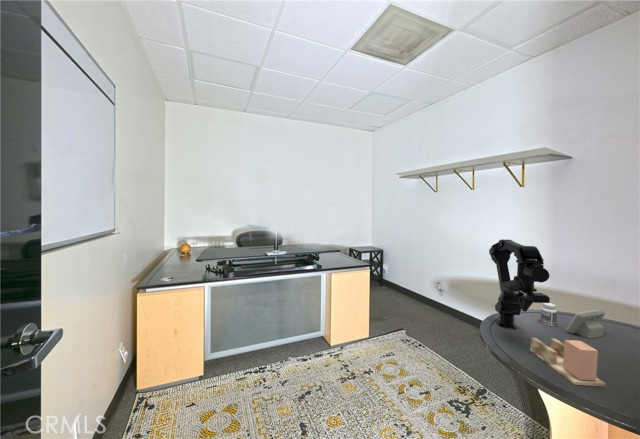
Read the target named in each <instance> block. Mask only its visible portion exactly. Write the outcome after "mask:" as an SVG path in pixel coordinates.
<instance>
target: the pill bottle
mask: <svg viewBox="0 0 640 439" xmlns="http://www.w3.org/2000/svg"><path fill="white" fill-rule="evenodd" d="M556 308H557V307H556V304H554V303H551V302H550V303H542V307H541V308H540V322H541V324H542V325H545V326H550V327H556V326H557V318H558V316H557V314H558V311H557V309H556Z"/></svg>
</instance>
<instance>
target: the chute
mask: <svg viewBox="0 0 640 439" xmlns="http://www.w3.org/2000/svg"><path fill="white" fill-rule="evenodd" d="M529 351H530V352H532V354H534V355H535V356H536V355H537V356H536V357H538V358H539V359H540V358H541V359H540V360H542V361H543V362H544V361H545V362H544V363H546V364H547V365H548V366H550V367H551V368H552V369H554V371H556V372H557V373H559V374H560V376H562V377H563V378H565V379H567V380H568V382H570V383H572V385H575V386H576V385H577V386H589V387H590V386H591V387H592V386H593V387H606V383H605V382H604V381H603V380H601V379H599V377H597V376H596V381H595V380H579V379H578V378H576V377H575V376H574V375H572V374H571V373H570V372H568V371H567V370H566V369H564V368H563V360H564V343H563V342H562V341H560V340H558V339H557V338H554V337H553V338H550V346H548V345H547V344H546V343H544V342H543V341H541V340H540V339H539V338H537V337H531V339H530V349H529Z"/></svg>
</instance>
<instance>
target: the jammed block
mask: <svg viewBox="0 0 640 439" xmlns="http://www.w3.org/2000/svg"><path fill="white" fill-rule="evenodd" d="M563 344H564V360H563V368H564V369H566V370H567V371H568V372H570V373H571V374H572V375H574V376H575V377H576V378H578V379H579V380H595V381H596V377H597V373H598V372H597V371H598V370H597V369H598V357H599V356H598V355H599V351H598V350H597V349H595V348H594V347H593V346H590V345H588V344H587V343H585V342H584V341H582V340H574V339H573V340H572V339H570V340H569V339H565V340H564V343H563Z"/></svg>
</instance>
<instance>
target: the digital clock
mask: <svg viewBox="0 0 640 439" xmlns="http://www.w3.org/2000/svg"><path fill="white" fill-rule="evenodd" d="M604 317H605V311H604V310H601V309H595V310H588V311H581V312H576V313H575V314H574V316H573V317H572V319H571V320H570V322H569V324H568V325H567V328H566V332H567V333H569V334H577V335H579V336H582V337H584V338H588V339H589V340H590V339H594V338H600V337H604V335H605V334H604V333H605V326H604V325H603V324H601V321H602V319H603V318H604Z"/></svg>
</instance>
